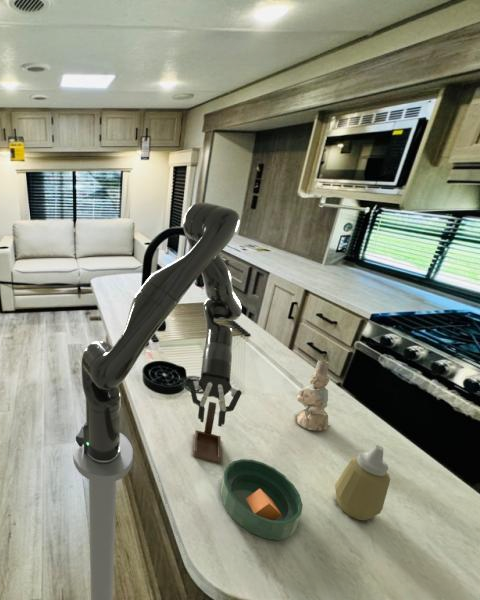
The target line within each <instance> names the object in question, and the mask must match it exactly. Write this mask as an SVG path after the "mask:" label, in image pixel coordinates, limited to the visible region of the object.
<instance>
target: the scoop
mask: <svg viewBox="0 0 480 600" xmlns="http://www.w3.org/2000/svg"><path fill="white" fill-rule="evenodd" d="M216 409H217V402H213V401H208V407H207V412H206V417H205V424H204V431H201V430H197V429H195V432H194V439H193V441H194V442H193V453H192V454H193V457H195V458H198V459H203V460H205V461H210V462H212V463H216V464H221V460H222V445H221V444H222V443H221V442H222V438H221V435H217V434H214V433H213V427H214V422H215V421H214V420H215V415H216Z"/></svg>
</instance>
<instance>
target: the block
mask: <svg viewBox="0 0 480 600" xmlns="http://www.w3.org/2000/svg"><path fill="white" fill-rule="evenodd" d="M246 500H247V502H248V504H249V505H250V507H251V509H252V511H253V513H255V514H256V515H258V516H260V517H263V518H266V519H269V520H276V519H278V518H279V517H280V516H282V514H281V513H280V511H279V510H278V508H277V507H276V505H275V504H274V502H273V501H272V499H271V498H270V497H268V496H267V495H266V494H265V493H264V492H263V491H262V490H261V489H258V490H257V491H256V492H254V493H253V494H252V495H250V496H249V497H248V498H246Z"/></svg>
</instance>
